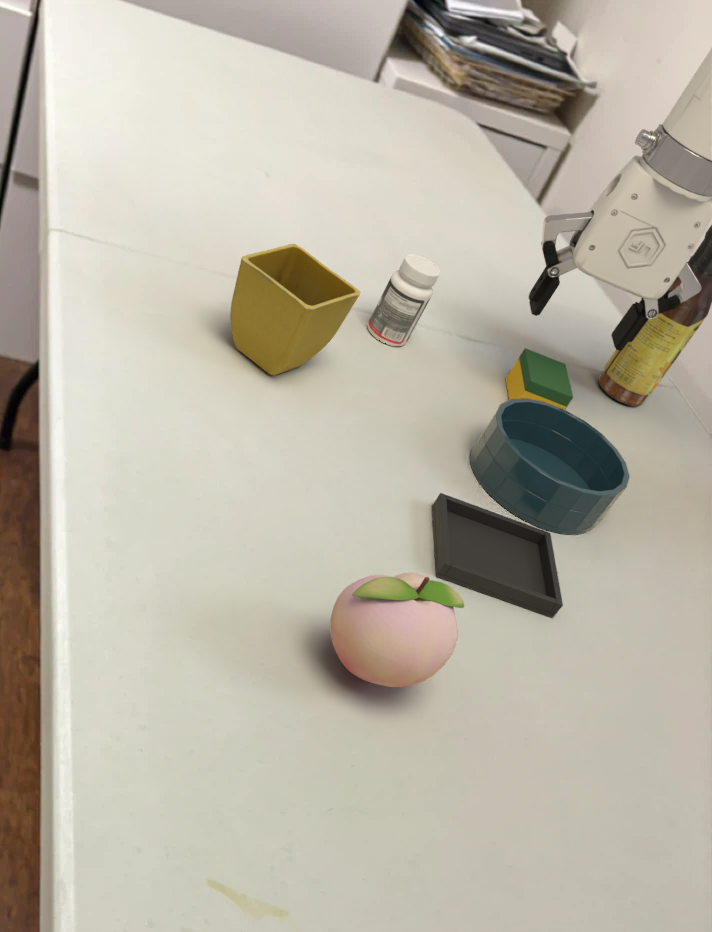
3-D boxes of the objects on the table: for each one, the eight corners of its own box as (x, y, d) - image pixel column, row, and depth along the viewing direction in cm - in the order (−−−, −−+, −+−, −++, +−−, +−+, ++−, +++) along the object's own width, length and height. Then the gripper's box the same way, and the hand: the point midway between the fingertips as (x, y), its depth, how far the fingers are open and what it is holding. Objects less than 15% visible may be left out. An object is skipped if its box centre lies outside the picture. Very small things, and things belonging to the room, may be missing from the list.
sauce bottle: (648, 414, 127) (768, 257, 113) (602, 399, 126) (717, 238, 112) (633, 383, 132) (747, 228, 117) (588, 368, 130) (698, 209, 116)
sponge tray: (540, 545, 102) (550, 532, 100) (552, 618, 95) (563, 605, 94) (431, 505, 100) (440, 492, 99) (435, 576, 93) (445, 563, 92)
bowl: (588, 468, 114) (617, 429, 111) (607, 552, 105) (640, 513, 101) (465, 421, 112) (491, 380, 109) (474, 503, 103) (502, 461, 99)
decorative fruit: (340, 725, 78) (406, 630, 71) (291, 640, 82) (348, 542, 75) (440, 711, 82) (511, 620, 75) (388, 631, 86) (451, 537, 79)
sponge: (545, 394, 122) (565, 363, 119) (552, 428, 117) (573, 397, 114) (505, 378, 121) (524, 347, 118) (510, 412, 117) (531, 381, 114)
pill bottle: (382, 318, 121) (418, 248, 115) (413, 343, 120) (451, 273, 114) (358, 325, 118) (393, 254, 112) (389, 351, 117) (427, 280, 111)
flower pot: (207, 340, 106) (240, 254, 99) (261, 323, 111) (295, 241, 105) (272, 393, 104) (310, 309, 97) (324, 373, 109) (363, 292, 103)
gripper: (608, 142, 96) (502, 313, 109) (774, 217, 99) (653, 375, 111) (597, 112, 101) (497, 278, 114) (755, 184, 104) (641, 339, 117)
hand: (574, 326), depth 113 cm, fingers open, 9 cm apart
